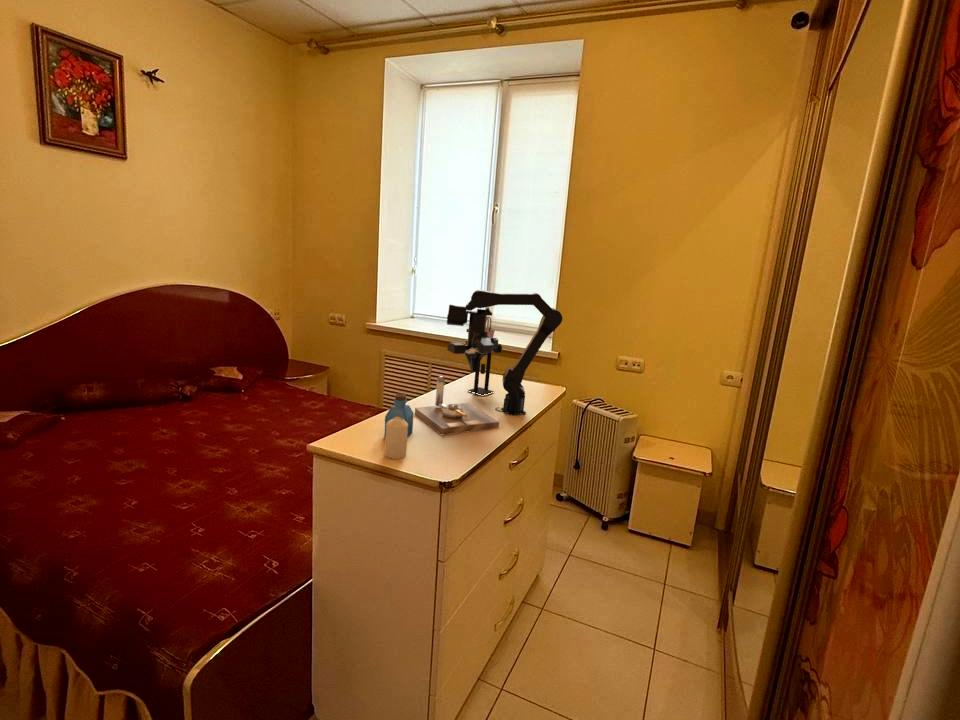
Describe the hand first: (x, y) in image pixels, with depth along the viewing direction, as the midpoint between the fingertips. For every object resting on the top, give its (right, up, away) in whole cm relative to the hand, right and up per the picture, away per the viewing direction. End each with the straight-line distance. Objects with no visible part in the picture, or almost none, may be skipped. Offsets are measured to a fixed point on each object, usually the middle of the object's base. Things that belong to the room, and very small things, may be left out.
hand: (473, 372), depth 170 cm
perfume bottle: (-21, -18, -28) cm, 39 cm away
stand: (-5, -15, -11) cm, 20 cm away
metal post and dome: (-7, -13, -13) cm, 19 cm away
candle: (-20, -21, -41) cm, 50 cm away
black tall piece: (+3, -9, +23) cm, 25 cm away
